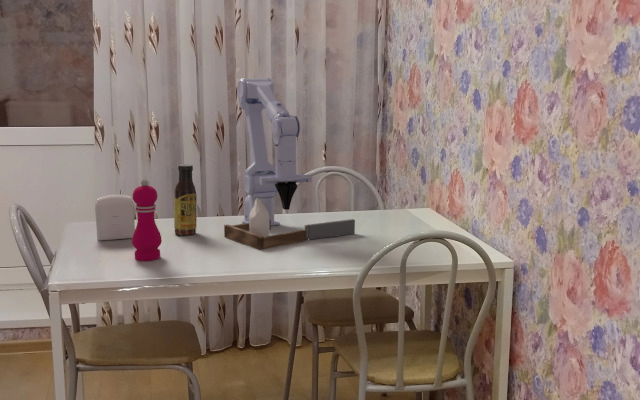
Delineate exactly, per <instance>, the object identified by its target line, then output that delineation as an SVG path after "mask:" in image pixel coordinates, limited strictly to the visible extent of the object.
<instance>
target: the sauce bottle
mask: <svg viewBox="0 0 640 400" xmlns="http://www.w3.org/2000/svg"><path fill="white" fill-rule="evenodd" d="M177 169H178V182H177V184H176V185H175V188H174V203H173V204H174V205H173V206H174V208H173V209H174V215H173V217H174V218H173V219H174V220H173V221H174V224H173V225H174V227H173V228H174V234H175V235H178V236H191V235H194V234H196V232H197V201H198V200H197V190H196V186H195V184H194V182H193V170H194V166H193V164H184V163H183V164H178V167H177Z"/></svg>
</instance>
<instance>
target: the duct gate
mask: <svg viewBox="0 0 640 400" xmlns="http://www.w3.org/2000/svg"><path fill="white" fill-rule="evenodd" d="M307 225H308V240H317V239H322V238H323V239H324V238H331V237H337V236H344V235H346V236H347V235H354V234H356V233H355V231H356V220H355V219H353V218H352V219H343V220H335V221H327V222H320V223H310V224H307Z"/></svg>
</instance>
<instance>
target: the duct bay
mask: <svg viewBox="0 0 640 400" xmlns="http://www.w3.org/2000/svg"><path fill="white" fill-rule="evenodd" d="M269 224H270V225H269V227H270V231H271V230H272V229H271V227H272V226H271V220H269ZM308 225H309V224H305V225H304V229H300V230H295V231H294V230H293V231H289V232H283V233H278V234H273V235H270V236H266V237H264V236H261V235H258V234H255V233H252V232H250V229H249V223H238V224H232V225H231V224H224V226H223V229H224V234H223V235H224V238H226V239H229V240H231V241H234V242H237V243H239V244H242V245H245V246H248V247H251V248H254V249H256V250H260V251H263V250H267V249H272V248H278V247H283V246H287V245H292V244H297V243H301V242H306V241H309V239H308Z"/></svg>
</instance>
